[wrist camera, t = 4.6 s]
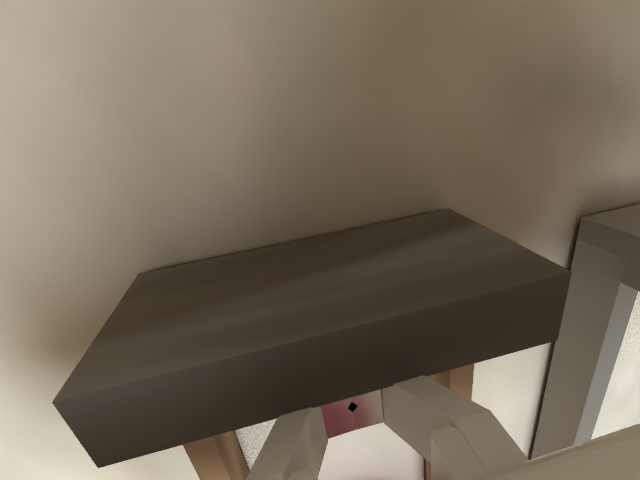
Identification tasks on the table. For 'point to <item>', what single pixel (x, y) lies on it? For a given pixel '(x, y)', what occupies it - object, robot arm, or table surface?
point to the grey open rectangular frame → (590, 327)
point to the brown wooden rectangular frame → (303, 334)
